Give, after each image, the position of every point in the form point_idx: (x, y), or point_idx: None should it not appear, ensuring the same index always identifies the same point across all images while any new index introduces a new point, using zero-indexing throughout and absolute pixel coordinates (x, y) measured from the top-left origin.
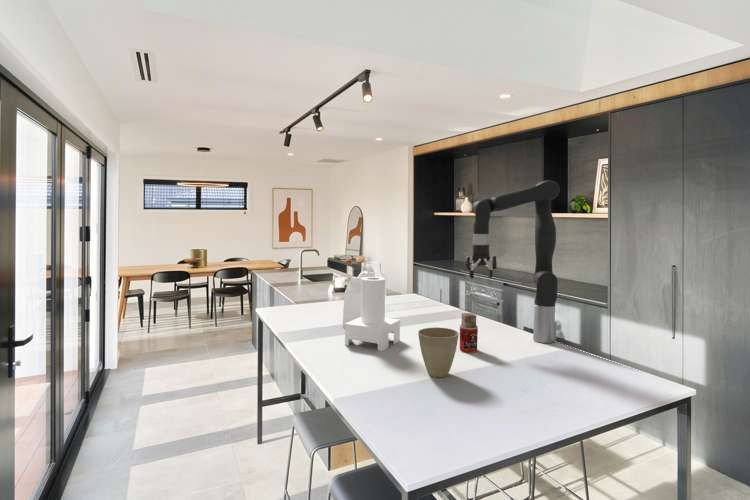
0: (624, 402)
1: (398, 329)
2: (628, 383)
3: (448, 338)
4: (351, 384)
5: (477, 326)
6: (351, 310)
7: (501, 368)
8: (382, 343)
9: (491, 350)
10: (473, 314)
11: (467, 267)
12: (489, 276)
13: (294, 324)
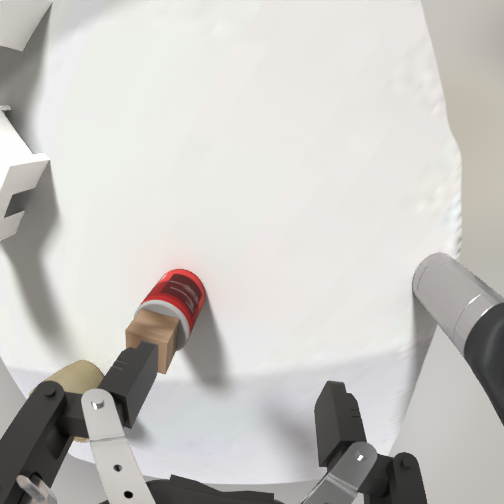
0: (283, 477)
1: (24, 170)
2: None
3: (74, 439)
4: (6, 346)
5: (184, 344)
6: None
7: (201, 396)
8: (6, 236)
9: (243, 311)
10: (161, 359)
11: (55, 430)
12: (319, 410)
13: None
